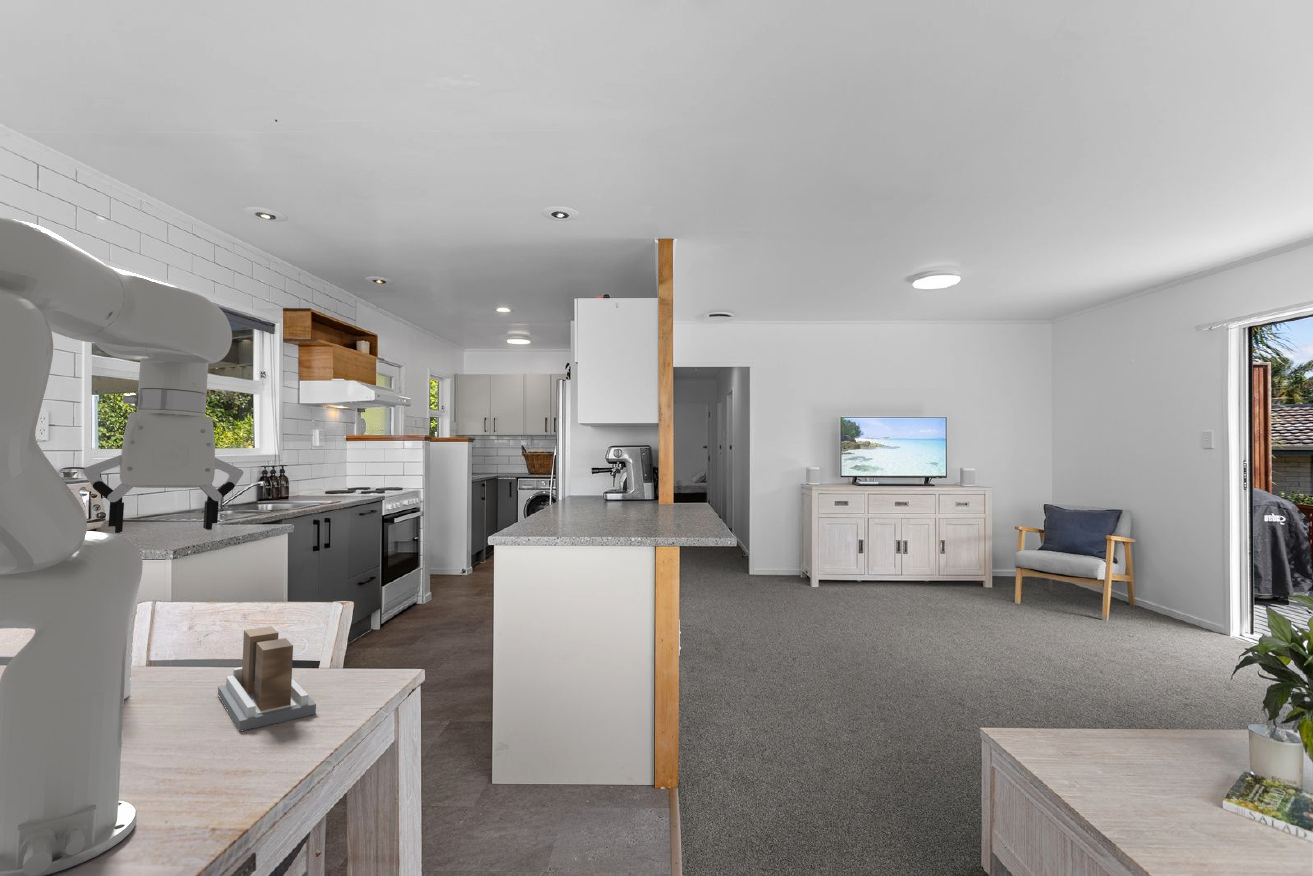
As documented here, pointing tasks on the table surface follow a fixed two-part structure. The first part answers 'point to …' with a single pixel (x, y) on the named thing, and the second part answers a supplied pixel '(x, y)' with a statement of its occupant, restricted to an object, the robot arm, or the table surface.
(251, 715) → the frame
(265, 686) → the walnut finger
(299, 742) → the table surface
